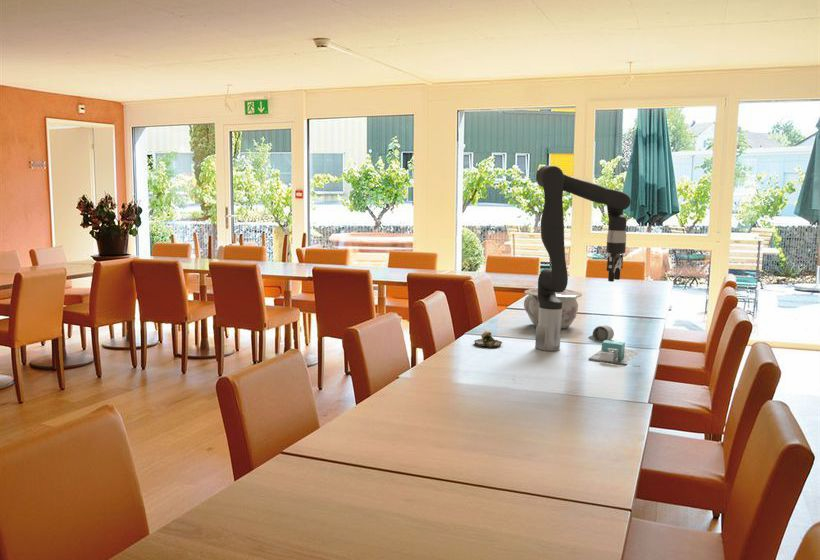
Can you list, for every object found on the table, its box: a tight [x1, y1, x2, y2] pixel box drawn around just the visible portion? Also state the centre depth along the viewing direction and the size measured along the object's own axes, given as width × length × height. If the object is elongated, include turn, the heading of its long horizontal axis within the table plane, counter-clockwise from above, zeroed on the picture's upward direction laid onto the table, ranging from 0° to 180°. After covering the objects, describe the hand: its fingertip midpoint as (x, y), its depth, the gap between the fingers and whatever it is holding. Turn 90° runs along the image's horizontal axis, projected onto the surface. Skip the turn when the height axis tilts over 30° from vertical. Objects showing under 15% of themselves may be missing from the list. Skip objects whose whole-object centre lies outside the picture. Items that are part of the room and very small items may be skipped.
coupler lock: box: [600, 340, 626, 360], centre depth 273 cm, size 5×8×6 cm, turn 59°
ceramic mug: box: [588, 325, 615, 342], centre depth 307 cm, size 10×8×7 cm
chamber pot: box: [523, 287, 583, 330], centre depth 337 cm, size 28×28×21 cm
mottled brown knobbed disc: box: [473, 330, 503, 348], centre depth 293 cm, size 12×12×8 cm
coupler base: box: [588, 348, 642, 367], centre depth 278 cm, size 26×14×4 cm, turn 149°
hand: (614, 280), depth 288 cm, fingers open, 8 cm apart
